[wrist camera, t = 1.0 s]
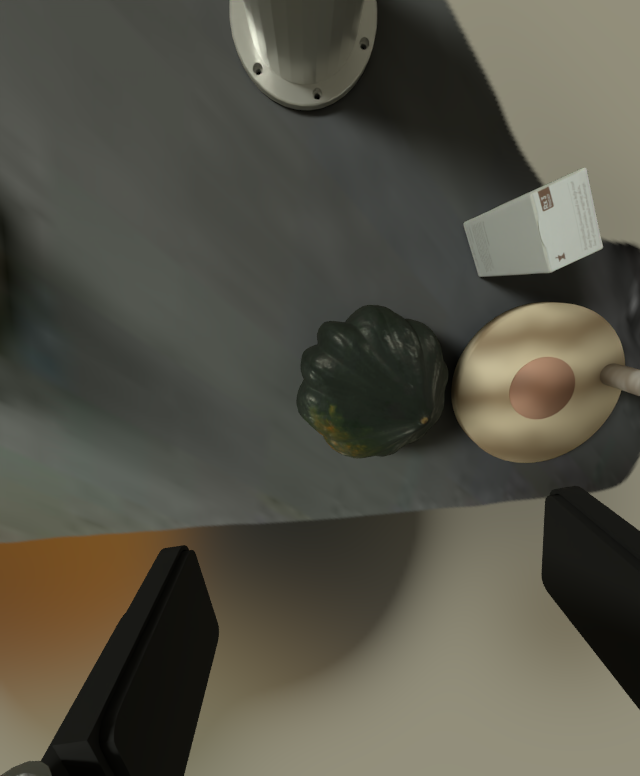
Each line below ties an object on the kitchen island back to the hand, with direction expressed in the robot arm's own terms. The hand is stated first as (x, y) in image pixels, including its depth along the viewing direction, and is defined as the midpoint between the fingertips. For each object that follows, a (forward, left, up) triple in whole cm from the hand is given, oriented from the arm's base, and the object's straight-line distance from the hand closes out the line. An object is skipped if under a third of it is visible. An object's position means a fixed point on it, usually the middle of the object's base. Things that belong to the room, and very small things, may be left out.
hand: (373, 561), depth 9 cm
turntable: (+9, +22, -29) cm, 37 cm away
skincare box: (-7, +19, -31) cm, 37 cm away
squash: (+3, +4, -31) cm, 32 cm away
